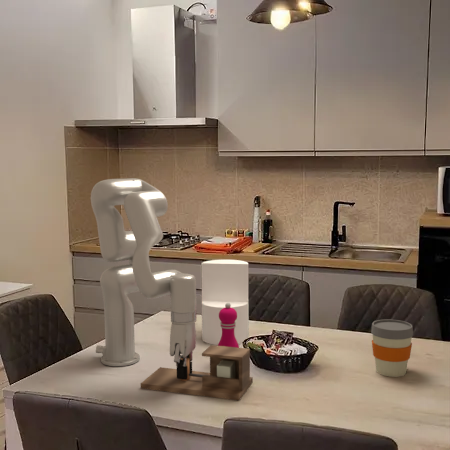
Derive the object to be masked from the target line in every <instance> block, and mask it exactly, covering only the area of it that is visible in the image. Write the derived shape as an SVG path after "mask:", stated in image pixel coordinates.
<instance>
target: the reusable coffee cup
mask: <svg viewBox="0 0 450 450" xmlns="http://www.w3.org/2000/svg"><path fill="white" fill-rule="evenodd" d="M370 333H371V336H372V340H371V346H372V355H373V357H374V361H375V370H376V373H378V374H379V375H381V376H384V377H390V378H391V377H393V378H394V377H396V378H397V377H403V376H405V375H406V374H407V368H408V362H409V360H410V358H411V352H412V346H413V343H412V337H413V336H414V329H413V324H412V323H409V322H407V321H404V320H399V319H387V318H386V319H385V318H384V319H378V320H374V321H373V322H372V323H371V331H370Z"/></svg>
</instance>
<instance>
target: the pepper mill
mask: <svg viewBox="0 0 450 450" xmlns="http://www.w3.org/2000/svg"><path fill="white" fill-rule="evenodd" d="M225 307H226V308H223V309H221V310H220V312H219V319H220V320H221V323H220V324H221V325H220V327H221V328H222V336H221V339H220V342H219V344H218V345H217V346H226V347H236V348H240V346H239V345H240V344H238V343H237V340H236V338H235V335H234V328H235V327H236V325H235V324H236V322H235V320H236V319H237V312H236V310H235V309H233V308H231V305H230V303H226V304H225Z"/></svg>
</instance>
